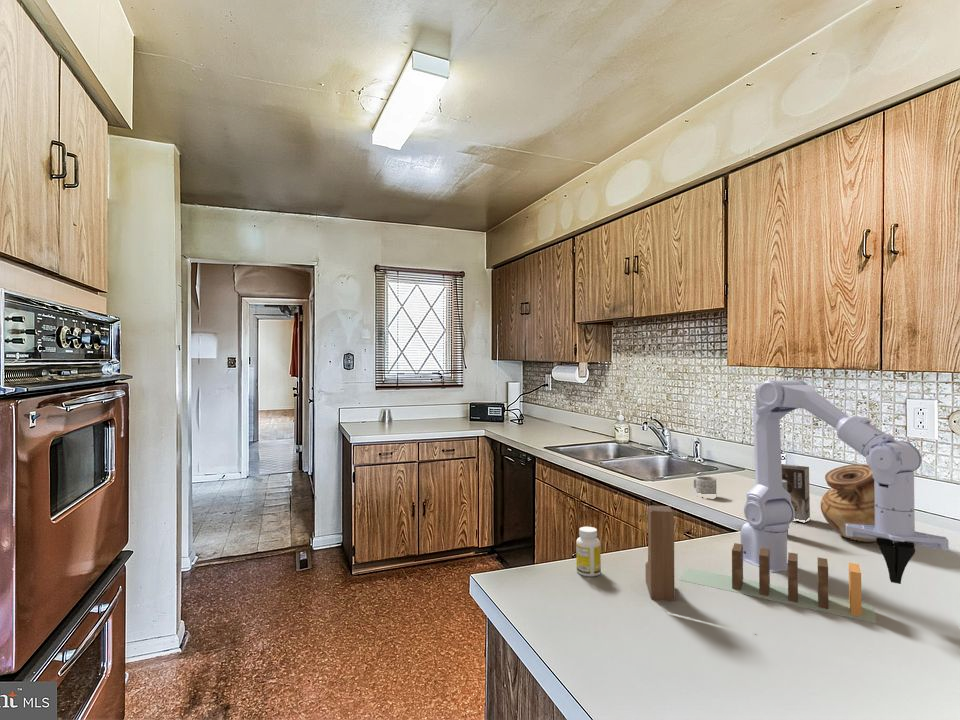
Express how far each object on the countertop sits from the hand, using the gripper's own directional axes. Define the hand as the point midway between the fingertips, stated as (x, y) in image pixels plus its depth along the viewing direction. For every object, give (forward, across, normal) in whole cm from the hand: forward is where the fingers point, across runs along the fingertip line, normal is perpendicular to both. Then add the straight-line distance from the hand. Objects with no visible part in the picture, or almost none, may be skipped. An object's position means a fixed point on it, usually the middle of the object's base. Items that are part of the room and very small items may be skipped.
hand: (895, 581), depth 93 cm
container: (+7, -20, +44) cm, 49 cm away
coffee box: (+7, -18, +63) cm, 66 cm away
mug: (+7, -45, +78) cm, 90 cm away
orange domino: (+7, -6, 0) cm, 9 cm away
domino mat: (+7, -20, 0) cm, 21 cm away
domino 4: (+7, -11, 0) cm, 13 cm away
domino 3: (+7, -16, 0) cm, 17 cm away
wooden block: (+7, -39, -12) cm, 42 cm away
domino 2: (+7, -21, 0) cm, 22 cm away
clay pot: (+7, -1, +52) cm, 52 cm away
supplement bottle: (+7, -55, -10) cm, 57 cm away
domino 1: (+7, -26, 0) cm, 27 cm away
